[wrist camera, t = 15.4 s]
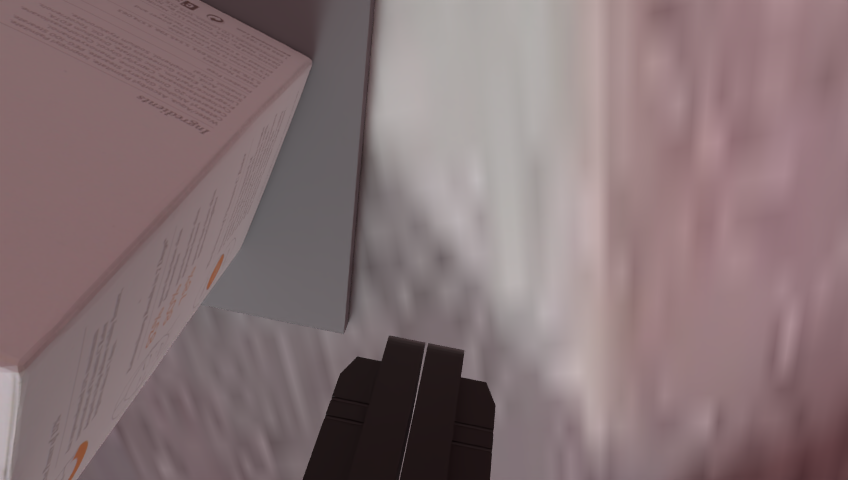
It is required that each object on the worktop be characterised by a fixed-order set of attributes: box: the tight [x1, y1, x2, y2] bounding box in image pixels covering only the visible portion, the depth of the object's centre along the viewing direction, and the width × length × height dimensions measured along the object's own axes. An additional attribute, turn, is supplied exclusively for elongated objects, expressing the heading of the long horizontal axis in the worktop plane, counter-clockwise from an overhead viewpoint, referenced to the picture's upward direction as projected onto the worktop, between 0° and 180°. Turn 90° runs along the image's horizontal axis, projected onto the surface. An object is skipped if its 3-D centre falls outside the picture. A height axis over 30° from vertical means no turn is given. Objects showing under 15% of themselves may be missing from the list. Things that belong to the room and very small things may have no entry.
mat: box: [200, 0, 375, 334], centre depth 21 cm, size 22×16×1 cm
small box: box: [0, 0, 312, 480], centre depth 15 cm, size 8×6×13 cm
